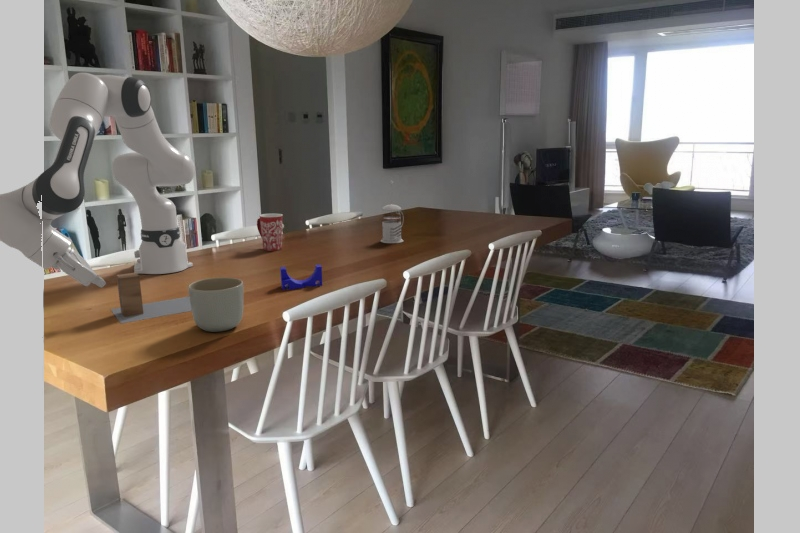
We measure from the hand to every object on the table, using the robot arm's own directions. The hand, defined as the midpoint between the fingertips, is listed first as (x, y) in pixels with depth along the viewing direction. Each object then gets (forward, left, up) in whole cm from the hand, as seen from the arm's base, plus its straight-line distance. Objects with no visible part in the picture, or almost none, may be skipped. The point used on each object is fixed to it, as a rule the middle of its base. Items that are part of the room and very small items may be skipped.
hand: (103, 284), depth 146 cm
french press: (-42, +116, -9) cm, 123 cm away
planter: (+23, +21, -9) cm, 32 cm away
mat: (0, +13, -9) cm, 16 cm away
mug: (-58, +68, -9) cm, 90 cm away
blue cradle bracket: (+1, +53, -9) cm, 54 cm away
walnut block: (0, +6, -9) cm, 10 cm away
